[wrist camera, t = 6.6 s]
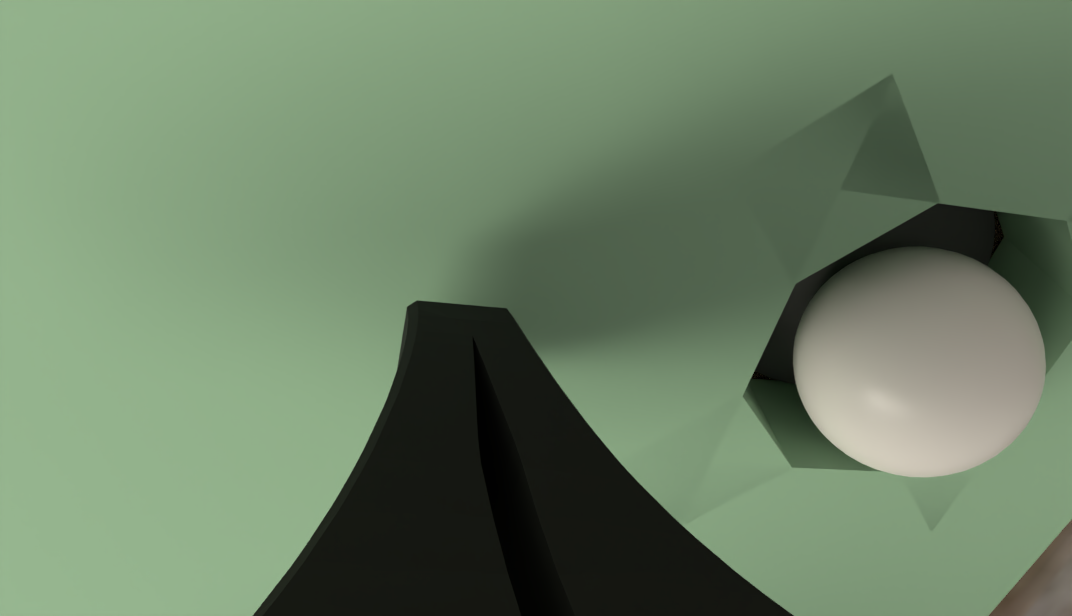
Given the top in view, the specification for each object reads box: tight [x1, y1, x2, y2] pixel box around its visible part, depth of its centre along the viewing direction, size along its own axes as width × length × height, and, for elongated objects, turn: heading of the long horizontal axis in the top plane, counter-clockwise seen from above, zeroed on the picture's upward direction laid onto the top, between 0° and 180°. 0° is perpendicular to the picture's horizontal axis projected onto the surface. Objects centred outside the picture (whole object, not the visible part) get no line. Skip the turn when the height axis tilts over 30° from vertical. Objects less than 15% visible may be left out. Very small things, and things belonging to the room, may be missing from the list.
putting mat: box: [0, 0, 1072, 616], centre depth 14 cm, size 16×24×2 cm, turn 78°
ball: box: [793, 246, 1046, 478], centre depth 15 cm, size 4×4×4 cm
